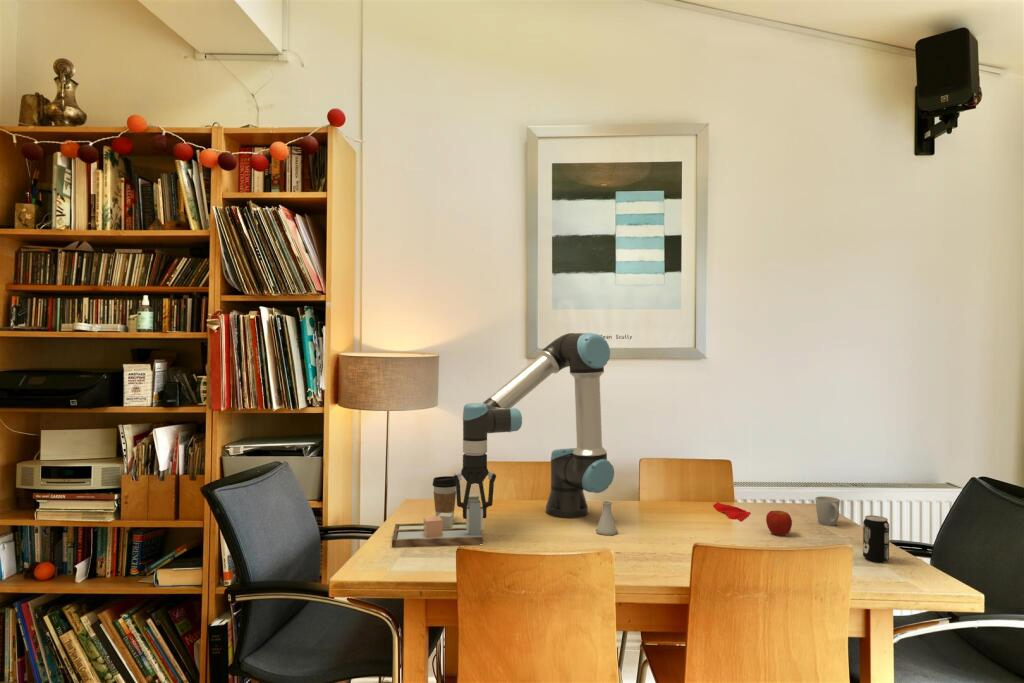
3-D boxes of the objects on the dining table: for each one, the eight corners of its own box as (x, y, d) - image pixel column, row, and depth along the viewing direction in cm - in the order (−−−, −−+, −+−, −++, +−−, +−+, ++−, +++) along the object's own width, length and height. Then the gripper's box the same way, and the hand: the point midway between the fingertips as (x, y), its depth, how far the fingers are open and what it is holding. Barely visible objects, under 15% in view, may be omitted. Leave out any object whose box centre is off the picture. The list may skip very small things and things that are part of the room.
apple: (780, 539, 214) (780, 514, 214) (760, 532, 221) (760, 508, 221) (797, 535, 218) (797, 511, 218) (777, 529, 225) (777, 506, 225)
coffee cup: (453, 524, 228) (453, 480, 228) (429, 523, 230) (429, 479, 230) (459, 518, 236) (460, 475, 236) (436, 517, 238) (436, 474, 238)
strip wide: (479, 535, 215) (480, 498, 215) (481, 543, 207) (482, 504, 207) (398, 537, 212) (398, 500, 212) (396, 546, 204) (396, 506, 204)
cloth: (758, 524, 233) (758, 518, 233) (716, 522, 235) (716, 516, 235) (745, 506, 259) (745, 500, 259) (708, 504, 261) (708, 498, 261)
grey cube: (453, 525, 220) (453, 513, 220) (450, 529, 216) (450, 516, 216) (441, 525, 220) (441, 512, 220) (437, 528, 216) (437, 516, 216)
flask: (620, 530, 222) (620, 500, 222) (615, 536, 215) (616, 505, 215) (598, 528, 225) (598, 498, 225) (593, 534, 218) (593, 503, 218)
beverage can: (858, 556, 197) (858, 515, 197) (879, 555, 198) (880, 514, 198) (872, 563, 191) (872, 521, 191) (894, 563, 191) (894, 520, 191)
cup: (831, 520, 236) (831, 496, 236) (848, 528, 226) (848, 503, 226) (810, 520, 236) (810, 496, 236) (826, 529, 226) (827, 503, 226)
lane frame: (478, 529, 223) (478, 521, 223) (482, 545, 206) (482, 537, 206) (395, 531, 220) (395, 523, 220) (392, 548, 202) (392, 540, 202)
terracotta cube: (439, 532, 212) (439, 516, 212) (442, 536, 208) (442, 520, 208) (423, 533, 211) (423, 517, 211) (426, 537, 206) (426, 521, 206)
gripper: (500, 451, 215) (499, 524, 216) (447, 451, 213) (447, 526, 214) (502, 455, 208) (502, 531, 208) (448, 455, 206) (447, 533, 206)
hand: (474, 528), depth 211 cm, fingers closed on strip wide, 3 cm apart
